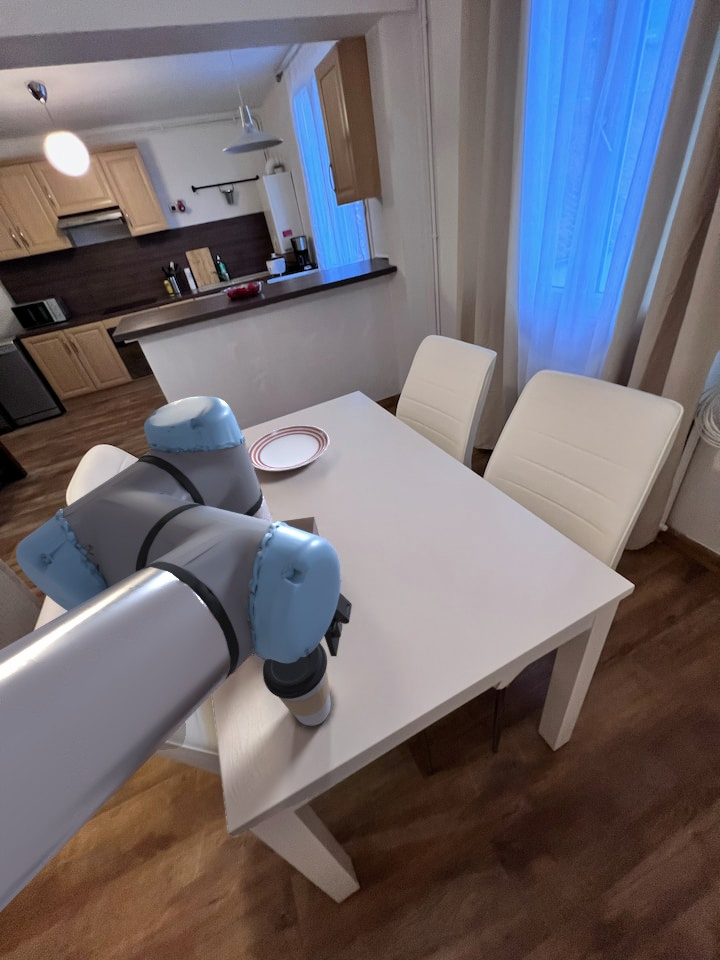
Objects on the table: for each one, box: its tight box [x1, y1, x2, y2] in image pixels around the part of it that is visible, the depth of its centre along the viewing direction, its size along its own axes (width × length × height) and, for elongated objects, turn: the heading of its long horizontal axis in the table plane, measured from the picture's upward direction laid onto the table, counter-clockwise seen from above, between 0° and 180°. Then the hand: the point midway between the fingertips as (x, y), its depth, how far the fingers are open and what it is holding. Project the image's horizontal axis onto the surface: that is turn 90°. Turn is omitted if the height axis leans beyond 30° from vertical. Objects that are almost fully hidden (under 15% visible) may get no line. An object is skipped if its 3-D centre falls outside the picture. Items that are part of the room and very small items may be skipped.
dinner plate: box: [248, 424, 330, 472], centre depth 134 cm, size 28×27×3 cm
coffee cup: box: [262, 642, 332, 727], centre depth 62 cm, size 9×9×15 cm
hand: (288, 645), depth 56 cm, fingers open, 13 cm apart
